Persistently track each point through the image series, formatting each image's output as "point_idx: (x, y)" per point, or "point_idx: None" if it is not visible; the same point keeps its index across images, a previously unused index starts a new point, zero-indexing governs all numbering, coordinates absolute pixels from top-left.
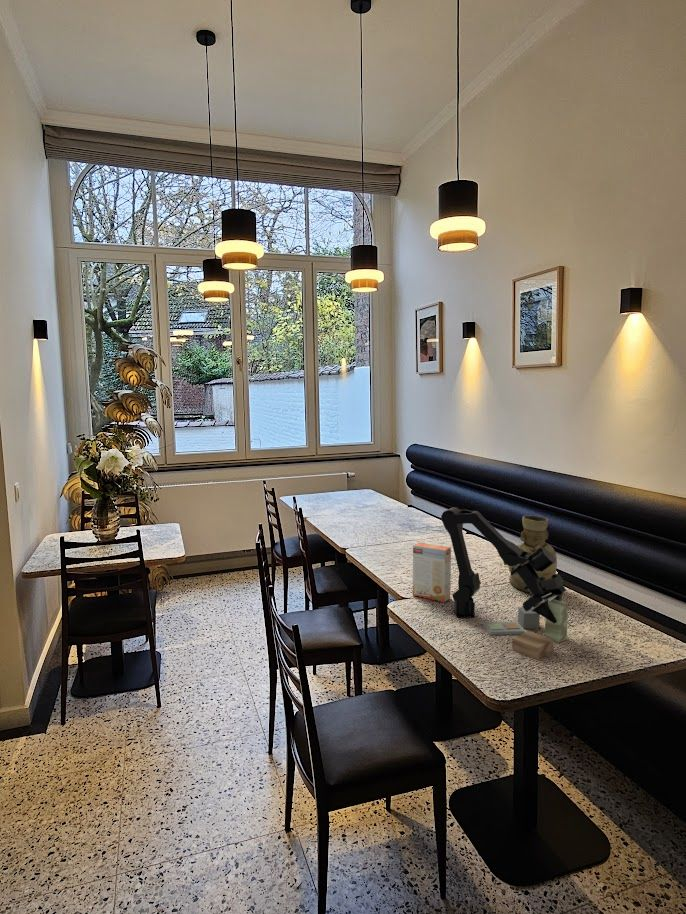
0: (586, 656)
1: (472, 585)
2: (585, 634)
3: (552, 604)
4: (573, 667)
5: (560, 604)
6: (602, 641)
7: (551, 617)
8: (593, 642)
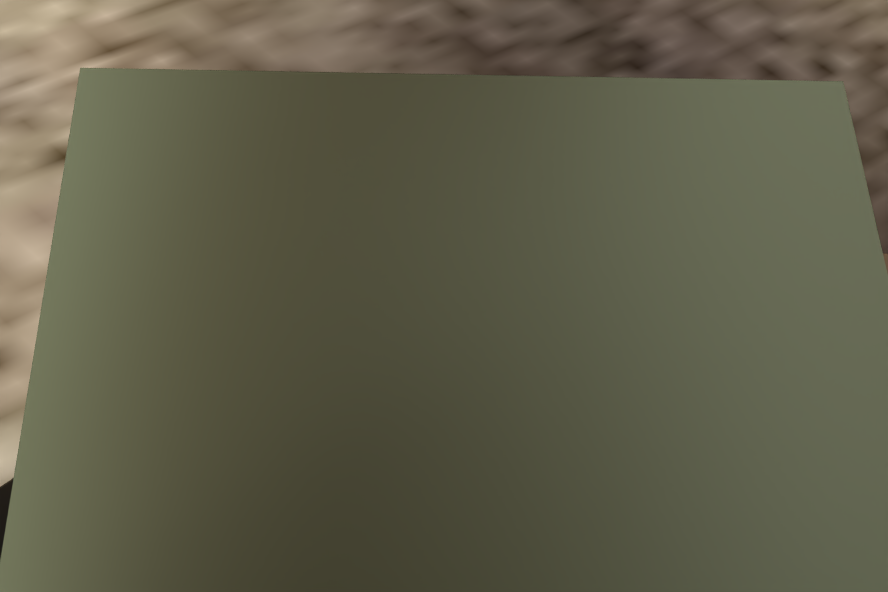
0: (581, 22)
1: None
2: (17, 275)
3: (870, 563)
4: (880, 5)
5: (508, 256)
6: (91, 63)
7: None
8: None
